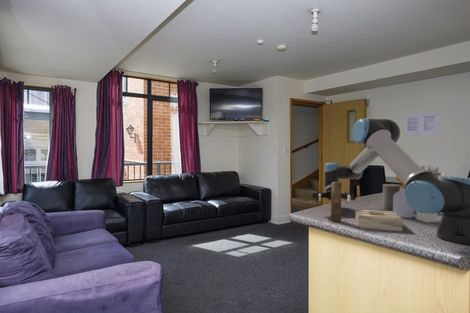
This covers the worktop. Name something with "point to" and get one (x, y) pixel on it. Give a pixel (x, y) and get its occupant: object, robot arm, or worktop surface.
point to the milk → (426, 217)
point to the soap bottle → (401, 203)
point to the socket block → (378, 220)
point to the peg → (336, 201)
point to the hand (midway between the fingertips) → (334, 198)
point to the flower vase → (435, 172)
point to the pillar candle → (389, 195)
